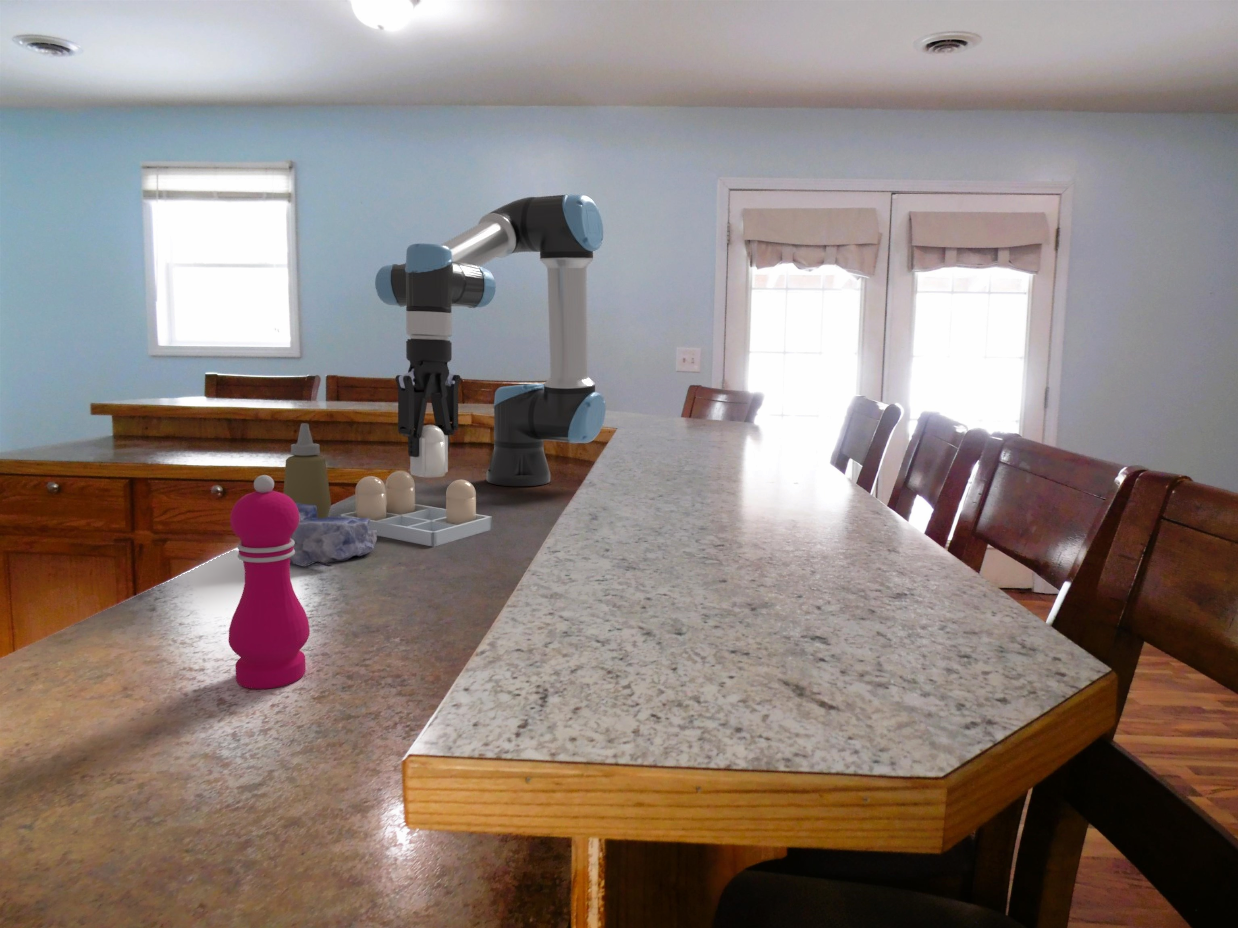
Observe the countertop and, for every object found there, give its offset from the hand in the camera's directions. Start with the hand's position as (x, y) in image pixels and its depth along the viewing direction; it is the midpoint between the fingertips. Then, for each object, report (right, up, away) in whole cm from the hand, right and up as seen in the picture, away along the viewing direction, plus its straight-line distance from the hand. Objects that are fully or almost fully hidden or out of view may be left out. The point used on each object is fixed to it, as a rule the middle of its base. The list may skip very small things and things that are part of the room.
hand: (429, 473), depth 138 cm
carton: (-2, -10, -1) cm, 11 cm away
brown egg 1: (-10, -9, -1) cm, 13 cm away
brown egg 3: (+6, -10, -2) cm, 12 cm away
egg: (0, 0, 0) cm, 0 cm away
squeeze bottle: (-22, -9, +2) cm, 24 cm away
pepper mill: (-1, -19, -60) cm, 63 cm away
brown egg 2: (-6, -8, +5) cm, 12 cm away
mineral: (-11, -13, -20) cm, 26 cm away
